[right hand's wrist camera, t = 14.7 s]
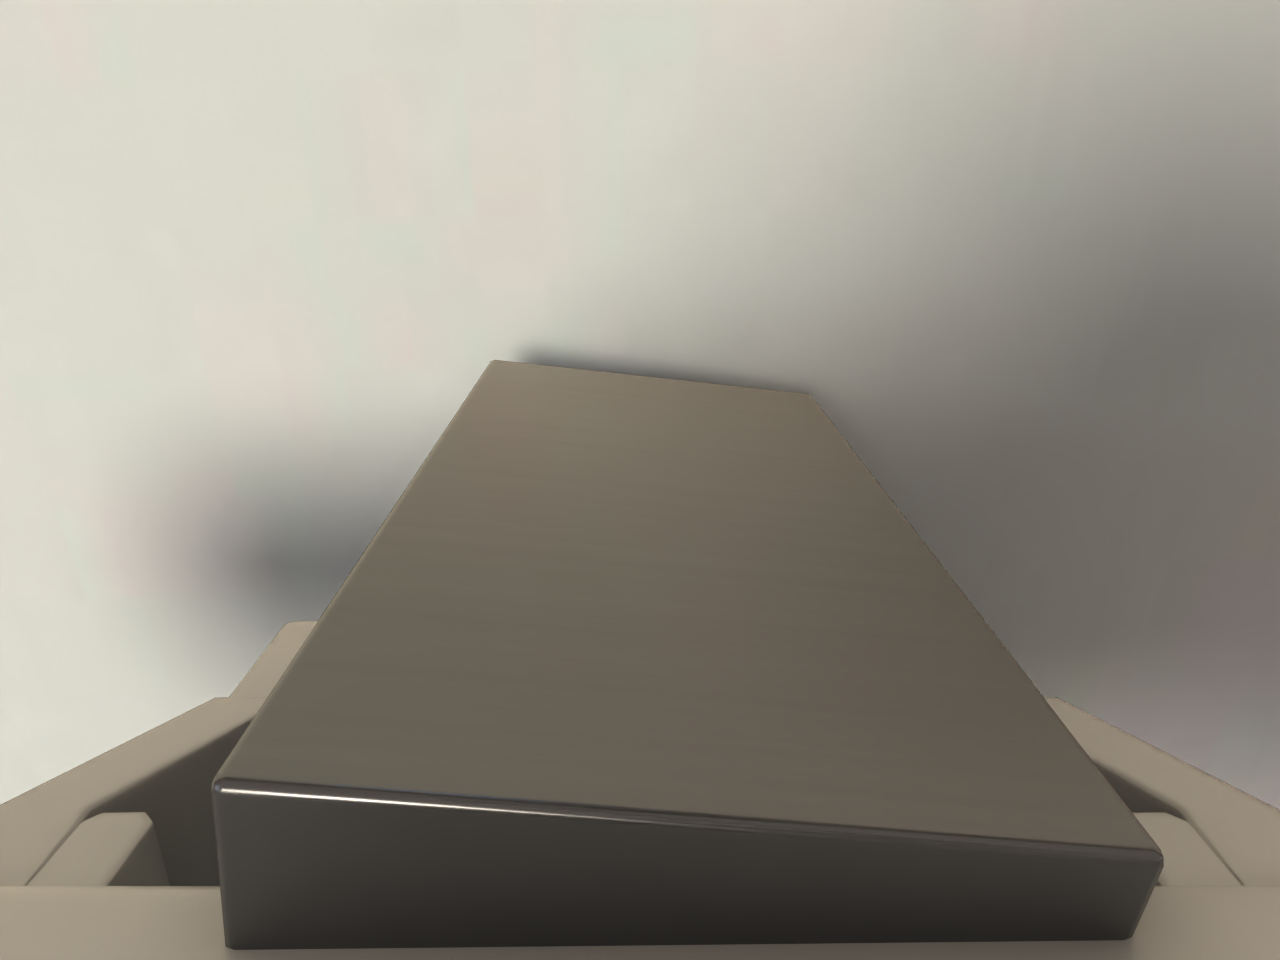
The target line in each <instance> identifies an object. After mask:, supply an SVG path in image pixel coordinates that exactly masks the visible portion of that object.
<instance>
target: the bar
mask: <svg viewBox="0 0 1280 960" xmlns="http://www.w3.org/2000/svg"><path fill="white" fill-rule="evenodd" d="M211 793H212V804H213V815H214V826H215V837H216V848H217V859H218V870H219V881H220V892H221V903H222V914H223V926H224V937H225V947H228V948H230V949H233V950H275V949H367V948H460V947H552V946H644V945H737V944H829V943H921V942H1014V941H1106V940H1126V939H1129V938H1131V937H1133V934H1134V932H1135V930H1136V928H1137V925H1138V923H1139V921H1140V919H1141V916H1142V914H1143V912H1144V910H1145V907H1146V905H1147V903H1148V901H1149V898H1150V896H1151V894H1152V892H1153V889H1154V887H1155V885H1156V883H1157V881H1158V878H1159V876H1160V874H1161V872H1162V869H1163V867H1164V858H1163V855H1162V852H1161V849H1160V848H1159V847H1158V845H1157V844H1156V843H1155V841H1154V840H1153V839H1152V837H1151V836H1150V835H1149V834H1148V832H1147V831H1146V830H1145V828H1144V827H1143V826H1142V824H1141V823H1140V822H1139V821H1138V819H1137V818H1136V817H1135V815H1134V814H1133V813H1132V811H1131V810H1130V809H1129V808H1128V806H1127V805H1126V804H1125V802H1124V801H1123V800H1122V799H1121V797H1120V796H1119V795H1118V793H1117V792H1116V791H1115V789H1114V788H1113V787H1112V786H1111V784H1110V783H1109V782H1108V780H1107V779H1106V778H1105V776H1104V775H1103V774H1102V773H1101V771H1100V770H1099V769H1098V767H1097V766H1096V765H1095V763H1094V762H1093V761H1092V760H1091V758H1090V757H1089V756H1088V754H1087V753H1086V752H1085V750H1084V749H1083V748H1082V747H1081V745H1080V744H1079V743H1078V741H1077V740H1076V739H1075V738H1074V736H1073V735H1072V734H1071V732H1070V731H1069V730H1068V728H1067V727H1066V726H1065V725H1064V723H1063V722H1062V721H1061V719H1060V718H1059V717H1058V715H1057V714H1056V713H1055V712H1054V710H1053V709H1052V708H1051V706H1050V705H1049V704H1048V702H1047V701H1046V700H1045V699H1044V697H1043V696H1042V695H1041V693H1040V692H1039V691H1038V689H1037V688H1036V687H1035V686H1034V684H1033V683H1032V682H1031V680H1030V679H1029V678H1028V676H1027V675H1026V674H1025V673H1024V671H1023V670H1022V669H1021V667H1020V666H1019V665H1018V664H1017V662H1016V661H1015V660H1014V658H1013V657H1012V656H1011V654H1010V653H1009V652H1008V651H1007V649H1006V648H1005V647H1004V645H1003V644H1002V643H1001V641H1000V640H999V639H998V638H997V636H996V635H995V634H994V632H993V631H992V630H991V628H990V627H989V626H988V625H987V623H986V622H985V621H984V619H983V618H982V617H981V615H980V614H979V613H978V612H977V610H976V609H975V608H974V606H973V605H972V604H971V602H970V601H969V600H968V599H967V597H966V596H965V595H964V593H963V592H962V591H961V590H960V588H959V587H958V586H957V584H956V583H955V582H954V580H953V579H952V578H951V577H950V575H949V574H948V573H947V571H946V570H945V569H944V567H943V566H942V565H941V564H940V562H939V561H938V560H937V558H936V557H935V556H934V554H933V553H932V552H931V551H930V549H929V548H928V547H927V545H926V544H925V543H924V541H923V540H922V539H921V538H920V536H919V535H918V534H917V532H916V531H915V530H914V528H913V527H912V526H911V525H910V523H909V522H908V521H907V519H906V518H905V517H904V516H903V514H902V513H901V512H900V510H899V509H898V508H897V506H896V505H895V504H894V503H893V501H892V500H891V499H890V497H889V496H888V495H887V493H886V492H885V491H884V490H883V488H882V487H881V486H880V484H879V483H878V482H877V480H876V479H875V478H874V477H873V475H872V474H871V473H870V471H869V470H868V469H867V467H866V466H865V465H864V464H863V462H862V461H861V460H860V458H859V457H858V456H857V455H856V453H855V452H854V451H853V449H852V448H851V447H850V445H849V444H848V443H847V442H846V440H845V439H844V438H843V436H842V435H841V434H840V432H839V431H838V430H837V429H836V427H835V426H834V425H833V423H832V422H831V421H830V419H829V418H828V417H827V416H826V414H825V413H824V412H823V410H822V409H821V408H820V406H819V405H818V404H817V403H816V401H815V400H814V399H813V397H812V396H811V395H809V394H806V393H796V392H787V391H778V390H769V389H759V388H750V387H741V386H732V385H722V384H713V383H704V382H695V381H685V380H676V379H667V378H657V377H648V376H639V375H630V374H620V373H611V372H602V371H593V370H583V369H574V368H565V367H556V366H546V365H537V364H528V363H518V362H509V361H500V360H493V361H491V362H490V363H489V365H488V366H487V368H486V369H485V371H484V372H483V374H482V375H481V377H480V378H479V380H478V382H477V383H476V385H475V386H474V388H473V389H472V391H471V392H470V394H469V395H468V397H467V398H466V400H465V401H464V403H463V404H462V406H461V407H460V409H459V410H458V412H457V413H456V415H455V416H454V418H453V419H452V421H451V422H450V424H449V425H448V427H447V428H446V430H445V431H444V433H443V434H442V436H441V437H440V439H439V440H438V442H437V443H436V445H435V446H434V448H433V449H432V451H431V452H430V454H429V455H428V457H427V458H426V460H425V461H424V463H423V464H422V466H421V467H420V469H419V470H418V472H417V473H416V475H415V476H414V478H413V479H412V481H411V482H410V484H409V485H408V487H407V488H406V490H405V491H404V493H403V494H402V496H401V497H400V499H399V500H398V502H397V503H396V505H395V506H394V508H393V509H392V511H391V512H390V514H389V515H388V517H387V518H386V520H385V521H384V523H383V524H382V526H381V527H380V529H379V530H378V532H377V533H376V535H375V536H374V538H373V539H372V541H371V542H370V544H369V545H368V547H367V548H366V550H365V551H364V553H363V554H362V556H361V557H360V559H359V560H358V562H357V563H356V565H355V566H354V568H353V569H352V571H351V572H350V574H349V575H348V577H347V578H346V580H345V581H344V583H343V584H342V586H341V587H340V589H339V590H338V592H337V593H336V595H335V596H334V598H333V599H332V601H331V603H330V604H329V606H328V607H327V609H326V610H325V612H324V613H323V615H322V616H321V618H320V619H319V621H318V622H317V624H316V625H315V627H314V628H313V630H312V631H311V633H310V634H309V636H308V637H307V639H306V640H305V642H304V643H303V645H302V646H301V648H300V649H299V651H298V652H297V654H296V655H295V657H294V658H293V660H292V661H291V663H290V664H289V666H288V667H287V669H286V670H285V672H284V673H283V675H282V676H281V678H280V679H279V681H278V682H277V684H276V685H275V687H274V688H273V690H272V691H271V693H270V694H269V696H268V697H267V699H266V700H265V702H264V703H263V705H262V706H261V708H260V709H259V711H258V712H257V714H256V715H255V717H254V718H253V720H252V721H251V723H250V724H249V726H248V727H247V729H246V730H245V732H244V733H243V735H242V736H241V738H240V739H239V741H238V742H237V744H236V745H235V747H234V748H233V750H232V751H231V753H230V754H229V756H228V757H227V759H226V760H225V762H224V763H223V765H222V766H221V768H220V769H219V771H218V772H217V774H216V776H215V778H214V780H213V782H212V791H211Z"/></svg>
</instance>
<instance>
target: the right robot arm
mask: <svg viewBox="0 0 1280 960" xmlns="http://www.w3.org/2000/svg"><path fill="white" fill-rule="evenodd" d="M317 622H318V621H294V622H290V623H286V624H285V625H284V626H283V628H282V629H281V630H280V631H279V633H278V634H277V635H276V637H275V638H274V639H273V641H272V642H271V643H270V644H269V646H268V647H267V648H266V650H265V651H264V652H263V654H262V655H261V656H260V657H259V659H258V660H257V661H256V663H255V664H254V665H253V667H252V668H251V669H250V670H249V672H248V673H247V674H246V676H245V677H244V678H243V680H242V681H241V682H240V683H239V685H238V686H237V687H236V689H235V690H234V691H233V693H232V694H231V695H230V696H229V698H214V699H212V700H210V701H208V702H206V703H204V704H202V705H200V706H198V707H196V708H194V709H192V710H190V711H188V712H186V713H184V714H182V715H180V716H178V717H176V718H174V719H172V720H170V721H168V722H166V723H164V724H162V725H160V726H158V727H156V728H154V729H152V730H149V731H147V732H145V733H143V734H141V735H139V736H137V737H135V738H133V739H131V740H129V741H127V742H125V743H123V744H121V745H119V746H117V747H115V748H113V749H111V750H109V751H107V752H105V753H103V754H101V755H99V756H97V757H95V758H93V759H91V760H89V761H87V762H85V763H83V764H81V765H79V766H77V767H75V768H73V769H71V770H69V771H67V772H65V773H63V774H61V775H59V776H57V777H55V778H53V779H51V780H49V781H47V782H45V783H43V784H41V785H39V786H37V787H35V788H33V789H31V790H29V791H27V792H25V793H23V794H21V795H19V796H17V797H15V798H13V799H11V800H9V801H7V802H5V803H3V804H1V805H0V960H1280V810H1278V809H1276V808H1274V807H1272V806H1270V805H1268V804H1266V803H1264V802H1263V801H1261V800H1259V799H1257V798H1255V797H1253V796H1251V795H1249V794H1247V793H1245V792H1243V791H1241V790H1239V789H1237V788H1235V787H1233V786H1231V785H1229V784H1227V783H1225V782H1223V781H1221V780H1219V779H1217V778H1215V777H1213V776H1211V775H1209V774H1207V773H1205V772H1203V771H1201V770H1199V769H1197V768H1195V767H1193V766H1191V765H1189V764H1187V763H1185V762H1183V761H1181V760H1179V759H1177V758H1175V757H1173V756H1171V755H1169V754H1167V753H1165V752H1163V751H1161V750H1159V749H1157V748H1155V747H1153V746H1152V745H1150V744H1148V743H1146V742H1144V741H1142V740H1140V739H1138V738H1136V737H1134V736H1132V735H1130V734H1128V733H1126V732H1124V731H1122V730H1120V729H1118V728H1116V727H1114V726H1112V725H1110V724H1108V723H1106V722H1104V721H1102V720H1100V719H1098V718H1096V717H1094V716H1092V715H1090V714H1088V713H1086V712H1084V711H1082V710H1080V709H1078V708H1076V707H1074V706H1072V705H1070V704H1068V703H1066V702H1064V701H1062V700H1060V699H1058V698H1044V699H1045V700H1046V701H1047V702H1048V704H1049V705H1050V706H1051V708H1052V709H1053V710H1054V712H1055V713H1056V714H1057V715H1058V717H1059V718H1060V719H1061V721H1062V722H1063V723H1064V725H1065V726H1066V727H1067V728H1068V730H1069V731H1070V732H1071V734H1072V735H1073V736H1074V738H1075V739H1076V740H1077V741H1078V743H1079V744H1080V745H1081V747H1082V748H1083V749H1084V750H1085V752H1086V753H1087V754H1088V756H1089V757H1090V758H1091V760H1092V761H1093V762H1094V763H1095V765H1096V766H1097V767H1098V769H1099V770H1100V771H1101V773H1102V774H1103V775H1104V776H1105V778H1106V779H1107V780H1108V782H1109V783H1110V784H1111V786H1112V787H1113V788H1114V789H1115V791H1116V792H1117V793H1118V795H1119V796H1120V797H1121V799H1122V800H1123V801H1124V802H1125V804H1126V805H1127V806H1128V808H1129V809H1130V810H1131V811H1132V813H1133V814H1134V815H1135V817H1136V818H1137V819H1138V821H1139V822H1140V823H1141V824H1142V826H1143V827H1144V828H1145V830H1146V831H1147V832H1148V834H1149V835H1150V836H1151V837H1152V839H1153V840H1154V841H1155V843H1156V844H1157V845H1158V847H1159V848H1160V849H1161V852H1162V855H1163V858H1164V867H1163V869H1162V872H1161V874H1160V876H1159V878H1158V881H1157V883H1156V885H1155V887H1154V889H1153V892H1152V894H1151V896H1150V898H1149V901H1148V903H1147V905H1146V907H1145V910H1144V912H1143V914H1142V916H1141V919H1140V921H1139V923H1138V925H1137V928H1136V930H1135V932H1134V934H1133V937H1131V938H1129V939H1126V940H1106V941H1014V942H921V943H829V944H737V945H644V946H552V947H460V948H367V949H275V950H233V949H230V948H228V947H225V937H224V926H223V914H222V903H221V892H220V881H219V870H218V859H217V848H216V837H215V826H214V815H213V804H212V793H211V791H212V782H213V780H214V778H215V776H216V774H217V772H218V771H219V769H220V768H221V766H222V765H223V763H224V762H225V760H226V759H227V757H228V756H229V754H230V753H231V751H232V750H233V748H234V747H235V745H236V744H237V742H238V741H239V739H240V738H241V736H242V735H243V733H244V732H245V730H246V729H247V727H248V726H249V724H250V723H251V721H252V720H253V718H254V717H255V715H256V714H257V712H258V711H259V709H260V708H261V706H262V705H263V703H264V702H265V700H266V699H267V697H268V696H269V694H270V693H271V691H272V690H273V688H274V687H275V685H276V684H277V682H278V681H279V679H280V678H281V676H282V675H283V673H284V672H285V670H286V669H287V667H288V666H289V664H290V663H291V661H292V660H293V658H294V657H295V655H296V654H297V652H298V651H299V649H300V648H301V646H302V645H303V643H304V642H305V640H306V639H307V637H308V636H309V634H310V633H311V631H312V630H313V628H314V627H315V625H316V624H317ZM987 625H988V624H987ZM988 626H989V625H988ZM991 630H992V629H991ZM994 634H995V633H994ZM995 635H996V634H995ZM997 638H998V637H997ZM998 639H999V638H998ZM1001 643H1002V642H1001ZM1004 647H1005V646H1004ZM1007 651H1008V650H1007ZM1017 664H1018V663H1017Z"/></svg>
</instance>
